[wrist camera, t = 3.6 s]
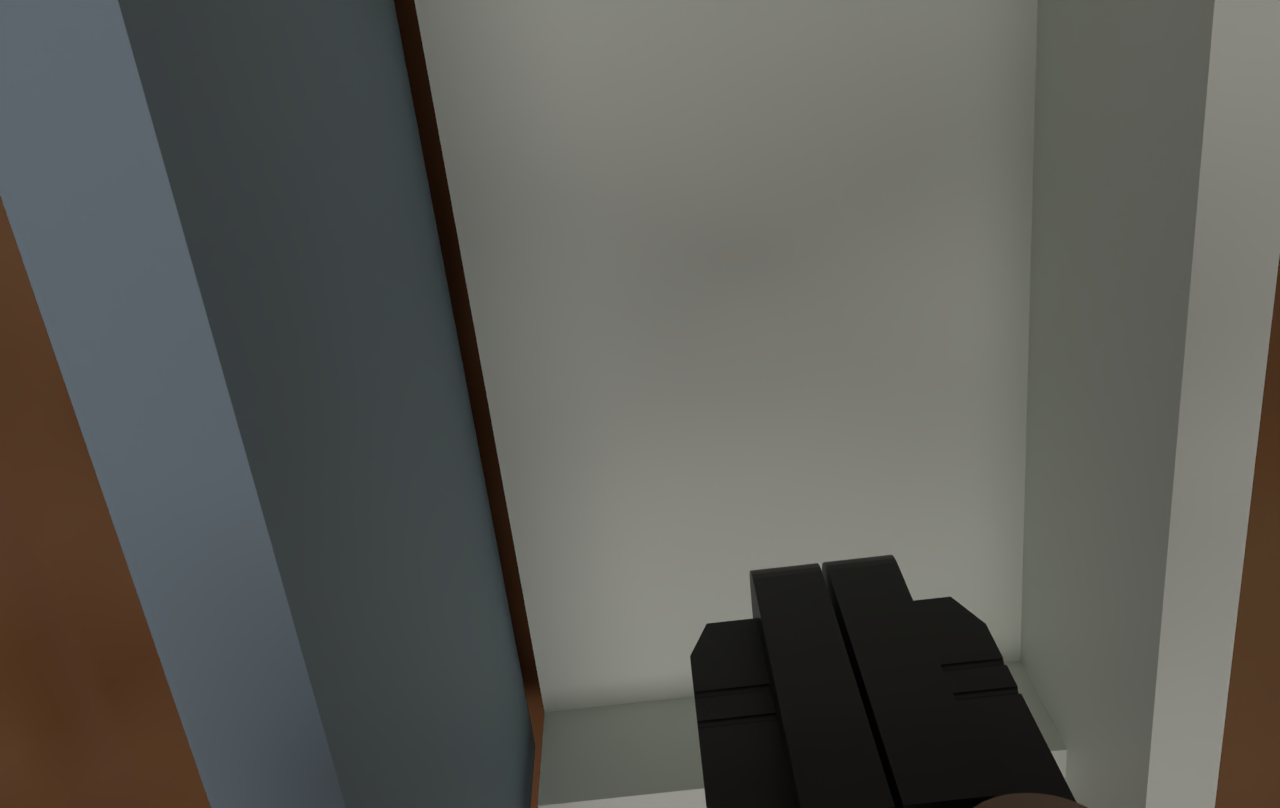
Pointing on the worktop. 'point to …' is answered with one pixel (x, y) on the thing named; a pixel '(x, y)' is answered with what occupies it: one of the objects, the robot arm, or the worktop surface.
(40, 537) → the worktop surface
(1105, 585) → the cart
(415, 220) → the tailgate
